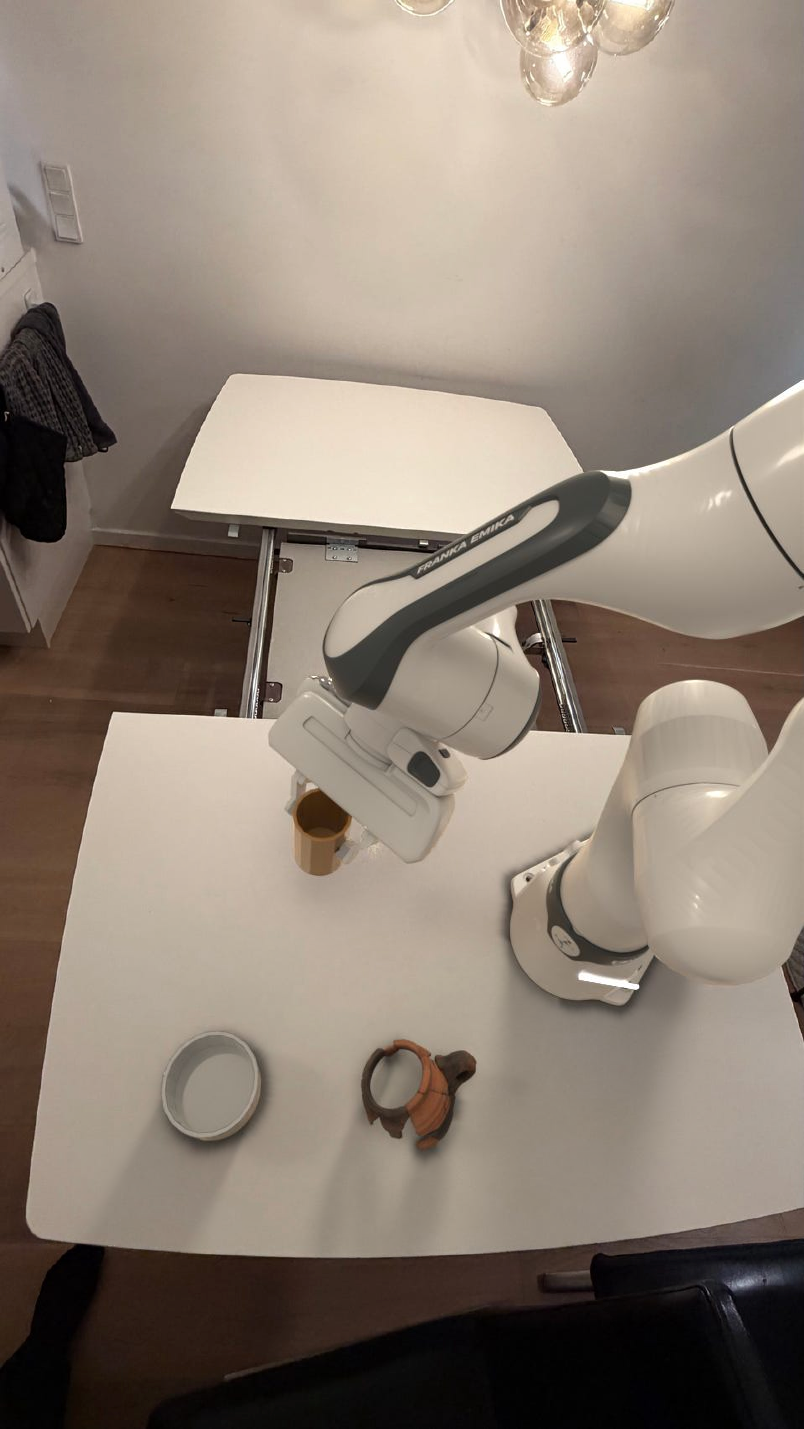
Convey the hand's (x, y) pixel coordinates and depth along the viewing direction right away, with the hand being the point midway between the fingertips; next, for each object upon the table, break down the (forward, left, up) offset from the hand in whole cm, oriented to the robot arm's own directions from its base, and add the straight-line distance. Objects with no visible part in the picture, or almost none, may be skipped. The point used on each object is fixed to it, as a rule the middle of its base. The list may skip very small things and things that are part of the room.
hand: (317, 836), depth 68 cm
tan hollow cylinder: (-1, 0, -5) cm, 5 cm away
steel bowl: (+20, +11, -16) cm, 28 cm away
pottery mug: (+4, +24, -17) cm, 29 cm away
